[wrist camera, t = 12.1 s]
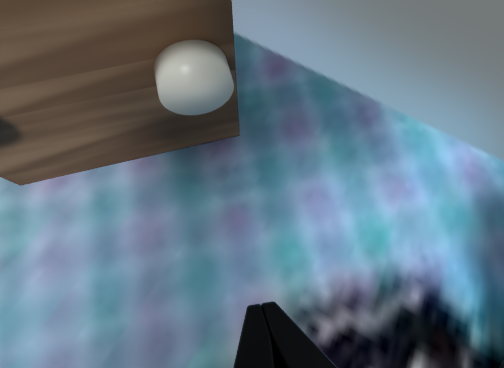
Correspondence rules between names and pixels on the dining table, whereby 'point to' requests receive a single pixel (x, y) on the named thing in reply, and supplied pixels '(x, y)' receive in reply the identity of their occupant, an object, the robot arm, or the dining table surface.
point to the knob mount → (99, 82)
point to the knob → (193, 77)
